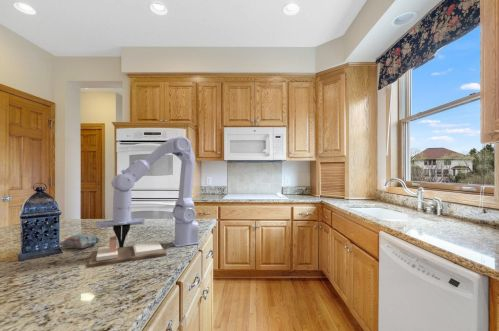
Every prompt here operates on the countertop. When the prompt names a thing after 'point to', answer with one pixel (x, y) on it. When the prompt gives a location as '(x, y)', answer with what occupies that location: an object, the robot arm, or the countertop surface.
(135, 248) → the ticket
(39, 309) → the countertop surface
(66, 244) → the packaged food
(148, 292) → the countertop surface
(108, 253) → the stub
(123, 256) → the board
